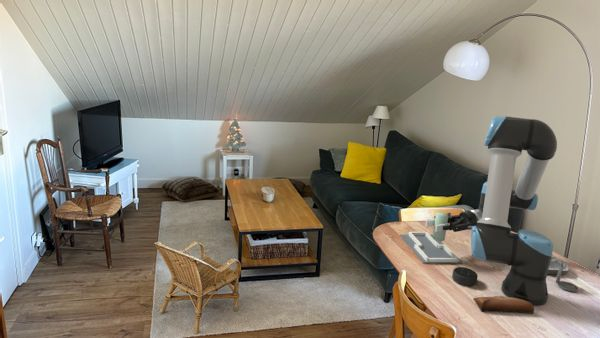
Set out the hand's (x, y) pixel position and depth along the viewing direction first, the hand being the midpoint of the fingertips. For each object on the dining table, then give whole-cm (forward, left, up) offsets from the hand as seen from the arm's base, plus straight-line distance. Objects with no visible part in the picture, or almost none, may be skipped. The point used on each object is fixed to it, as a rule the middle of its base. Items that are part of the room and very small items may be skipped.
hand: (431, 226), depth 181 cm
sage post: (+2, -5, -6) cm, 8 cm away
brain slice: (-8, -47, -15) cm, 50 cm away
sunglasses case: (-37, -12, -15) cm, 42 cm away
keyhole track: (+8, -5, -14) cm, 17 cm away
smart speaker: (-20, -7, -15) cm, 25 cm away
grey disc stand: (-25, -45, -14) cm, 53 cm away
